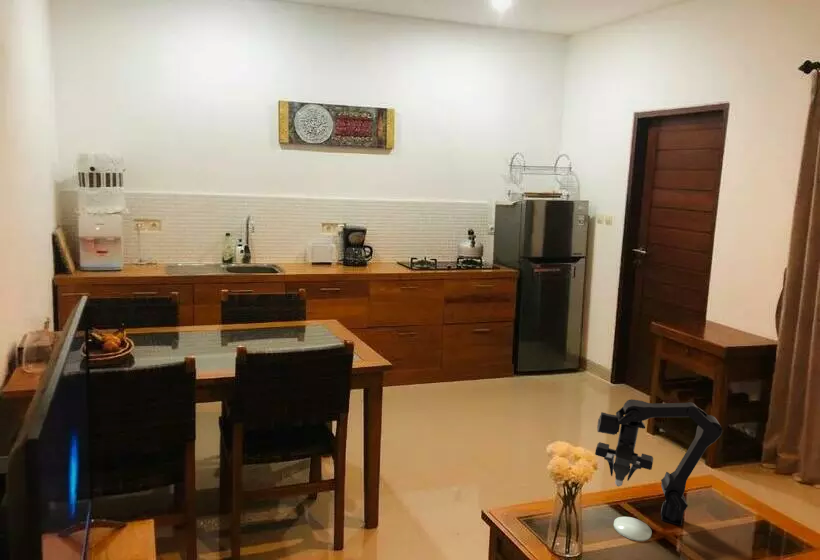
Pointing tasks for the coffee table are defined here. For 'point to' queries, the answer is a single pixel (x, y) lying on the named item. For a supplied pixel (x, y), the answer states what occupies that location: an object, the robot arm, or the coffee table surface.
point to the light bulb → (620, 473)
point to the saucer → (632, 528)
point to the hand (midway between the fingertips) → (619, 478)
